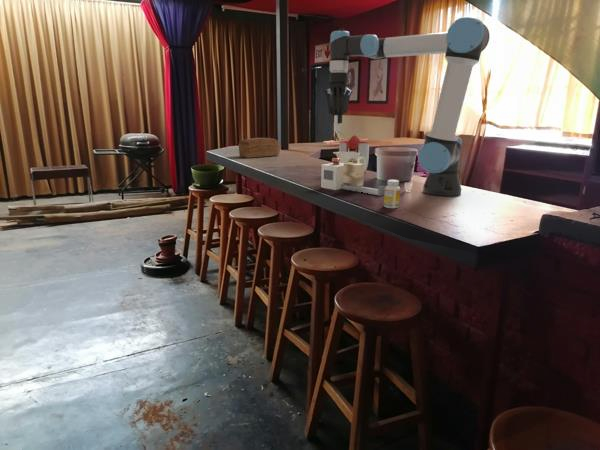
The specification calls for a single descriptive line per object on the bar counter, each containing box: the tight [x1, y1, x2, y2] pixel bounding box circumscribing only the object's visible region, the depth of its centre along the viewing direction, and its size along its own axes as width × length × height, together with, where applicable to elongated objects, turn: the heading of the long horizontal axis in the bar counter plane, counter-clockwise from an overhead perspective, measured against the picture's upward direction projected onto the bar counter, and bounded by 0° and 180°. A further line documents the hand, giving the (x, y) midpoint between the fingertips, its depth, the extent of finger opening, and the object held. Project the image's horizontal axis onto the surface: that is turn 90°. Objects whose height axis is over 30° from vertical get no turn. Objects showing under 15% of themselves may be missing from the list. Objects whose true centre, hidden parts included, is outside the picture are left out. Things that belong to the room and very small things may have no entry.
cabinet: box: [320, 162, 344, 191], centre depth 189 cm, size 8×10×10 cm
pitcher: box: [332, 151, 368, 173], centre depth 203 cm, size 11×18×14 cm, turn 112°
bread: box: [238, 137, 281, 159], centre depth 289 cm, size 14×28×12 cm, turn 127°
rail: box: [340, 184, 386, 197], centre depth 180 cm, size 20×4×4 cm, turn 47°
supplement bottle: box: [383, 179, 401, 209], centre depth 155 cm, size 5×5×10 cm
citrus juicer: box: [338, 134, 371, 175], centre depth 219 cm, size 16×17×20 cm
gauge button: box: [331, 157, 340, 165], centre depth 188 cm, size 4×4×7 cm
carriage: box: [343, 162, 365, 187], centre depth 182 cm, size 7×5×9 cm
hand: (337, 131), depth 183 cm, fingers closed
